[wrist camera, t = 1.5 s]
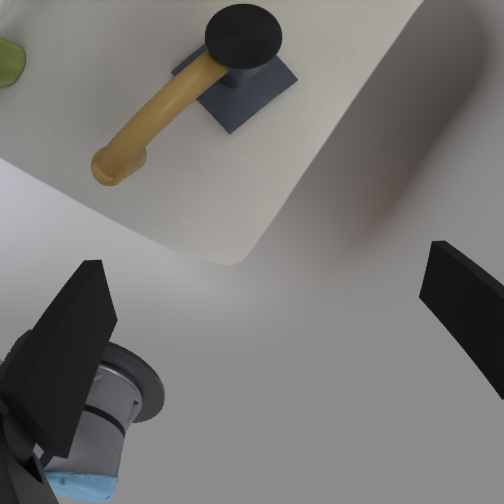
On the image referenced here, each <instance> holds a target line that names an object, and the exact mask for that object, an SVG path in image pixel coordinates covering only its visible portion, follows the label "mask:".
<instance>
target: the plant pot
mask: <svg viewBox="0 0 504 504" xmlns="http://www.w3.org/2000/svg"><path fill="white" fill-rule="evenodd" d="M24 65H25V52H24V51H23V49H22V48H21V47H20V46H19V45H16V44H14V43H12V42H9V41H7V40H5V39H3V38H1V37H0V88H3V87H8V86H10V85H12V84H13V83H14V82H15V81H16V80H17V78H18V77H19V76H20V74H21V73H22V71H23V69H24Z"/></svg>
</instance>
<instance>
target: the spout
mask: <svg viewBox="0 0 504 504" xmlns="http://www.w3.org/2000/svg"><path fill="white" fill-rule="evenodd" d="M205 42H206V46H207V50H206V51H205V52H204V53H203V54H201V55H200V56H199V57H198V58H196V59H195V60H194V61H193V62H192V63H190V64H189V65H188V66H187V67H186V68H185V69H183V70H182V71H181V72H180V73H179V74H178V75H176V76H175V77H174V78H173V79H172V80H171V81H170V82H169V83H168V84H166V85H165V86H164V87H163V88H162V89H161V90H160V91H159V92H158V93H157V94H156V95H155V96H154V97H153V98H152V99H151V100H150V101H148V102H147V103H146V104H145V105H144V106H143V107H142V108H141V109H140V110H139V111H138V112H137V113H136V114H135V115H134V117H133V118H132V119H131V120H130V121H129V122H128V123H127V124H126V125H125V126H124V127H123V128H122V129H121V130H120V131H119V132H118V133H117V135H116V136H115V137H114V138H113V139H112V140H111V141H110V142H109V143H108V145H107V146H106V147H103V148H101V149H100V150H98V151H97V152H96V153H95V155H94V156H93V159H92V162H91V171H92V174H93V176H94V178H95V179H96V180H97V181H98V182H99V183H100V184H102V185H105V186H113V185H116V184H118V183H120V182H121V181H122V180H124V179H125V178H127V177H128V176H130V175H131V174H133V173H134V172H135V171H137V170H138V169H140V168H141V167H142V166H143V165H144V163H145V161H146V150H145V146H146V145H147V144H148V143H149V142H150V141H151V140H152V139H153V138H154V137H155V136H156V135H157V134H158V133H159V132H160V131H161V130H162V129H163V128H164V127H165V126H166V125H168V124H169V123H170V122H171V121H172V120H173V119H174V118H175V117H176V116H177V115H178V114H179V113H180V112H181V111H183V110H184V109H185V108H186V107H187V106H188V105H189V104H190V103H191V102H193V101H194V100H195V99H196V98H197V97H198V96H199V95H201V94H202V93H203V92H204V91H205V90H206V89H208V88H209V87H210V86H211V85H212V84H214V83H215V82H216V81H217V80H218V79H220V78H221V77H222V76H223V75H225V74H226V75H228V76H231V77H237V78H244V77H250V76H253V75H255V74H257V73H259V72H261V71H262V70H263V69H264V68H265V67H266V66H267V65H268V64H269V63H270V61H271V60H272V59H273V58H274V57H275V56H276V54H277V53H278V51H279V49H280V47H281V43H282V31H281V27H280V25H279V23H278V21H277V20H276V18H275V17H274V16H273V15H272V14H271V13H270V12H268V11H267V10H265V9H263V8H261V7H259V6H256V5H252V4H235V5H231V6H228V7H226V8H223V9H222V10H220V11H219V12H217V13H216V14H215V15H214V16H213V17H212V18H211V20H210V21H209V23H208V25H207V27H206V31H205Z"/></svg>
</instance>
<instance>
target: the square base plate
mask: <svg viewBox="0 0 504 504" xmlns="http://www.w3.org/2000/svg"><path fill="white" fill-rule="evenodd" d="M206 50H207V46H206V43H205V44H204V45H203V46H202V47H200V48H199V49H198V50H197V51H195V52H194V53H193V54H192V55H191V56H189V57H188V58H187V59H186V60H185V61H183V62H182V63H181V64H180V65H179V66H178V67H176V68H175V69H174V70H173V71H172V72H171V73H172V74H173V75H174V76H176V75H178V74H179V73H180V72H181V71H182V70H183V69H185V68H186V67H187V66H188V65H189V64H190V63H192V62H193V61H194V60H195V59H196V58H198V57H199V56H200V55H201V54H203V53H204V52H205V51H206ZM296 81H298V79H297V78H296V77H295V76H294V74H293V73H292V72H291V71H290V70H289V69H288V67H287V66H286V65H285V64H284V63H283V62H282V61H281V60H280V58H279V57H278V56H277V55H276V56H275V57H274V58H273V59H272V60H271V61H270V63H269V64H268V65H267V66H266V67H265V68H264V69H263V70H262V71H261V72H259V73H257V74H255V75H253V76H250V77H244V78H237V77H231V76H228V75H226V74H225V75H223V76H222V77H221V78H220V79H218V80H217V81H216V82H215V83H214V84H212V85H211V86H210V87H209V88H208V89H206V90H205V91H204V92H203V93H202V94H201V95H199V96H198V97H197V99H198V100H199V101H200V102H201V103H202V104H203V105H204V107H205V108H206V109H207V110H208V111H209V112H210V113H211V114H212V115H213V116H214V117H215V118H216V119H217V120H218V121H219V123H220V124H221V125H222V126H223V127H224V128H225V129H226V130H227V131H228V132H229V133H230V134H231V133H232V132H233V131H234V130H236V129H237V128H238V127H239V126H240V125H242V124H243V123H244V122H245V121H246V120H248V119H249V118H250V117H251V116H253V115H254V114H255V113H256V112H257V111H259V110H260V109H261V108H262V107H264V106H265V105H266V104H268V103H269V102H270V101H271V100H273V99H274V98H275V97H276V96H278V95H279V94H280V93H282V92H283V91H284V90H286V89H287V88H288V87H290V86H291V85H292V84H294V83H295V82H296Z"/></svg>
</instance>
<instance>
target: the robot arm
mask: <svg viewBox="0 0 504 504" xmlns="http://www.w3.org/2000/svg"><path fill="white" fill-rule="evenodd" d="M419 298H420V299H421V300H422V301H423V302H424V303H425V305H426V306H427V307H428V308H429V309H430V310H431V311H432V312H433V314H434V315H435V316H436V317H437V318H438V319H439V321H440V322H441V323H442V324H443V325H444V326H445V327H446V329H447V330H448V331H449V332H450V333H451V335H452V336H453V337H454V338H455V339H456V341H457V342H458V343H459V344H460V345H461V346H462V348H463V349H464V350H465V352H466V353H467V354H468V355H469V357H470V358H471V359H472V360H473V362H474V363H475V364H476V365H477V367H478V368H479V369H480V371H481V372H482V373H483V374H484V376H485V377H486V378H487V380H488V381H489V382H490V384H491V385H492V386H493V388H494V389H495V391H496V392H497V393H498V394H499V396H500V397H501V399H502V400H503V399H504V286H503V285H502V284H501V283H500V282H499V281H497V280H496V279H495V278H493V277H492V276H491V275H490V274H489V273H487V272H486V271H485V270H484V269H482V268H481V267H480V266H478V265H477V264H476V263H475V262H473V261H472V260H471V259H469V258H468V257H467V256H465V255H464V254H462V253H461V252H460V251H459V250H457V249H456V248H454V247H453V246H452V245H450V244H449V243H447V242H446V241H432V244H431V248H430V253H429V258H428V263H427V267H426V271H425V275H424V279H423V284H422V287H421V291H420V295H419ZM116 323H117V317H116V313H115V310H114V306H113V303H112V299H111V295H110V292H109V288H108V285H107V280H106V276H105V273H104V268H103V264H102V260H86V261H83V262H82V264H81V265H80V266H79V267H78V269H77V270H76V271H75V272H74V274H73V275H72V276H71V278H70V279H69V280H68V281H67V283H66V284H65V285H64V287H63V288H62V289H61V290H60V292H59V293H58V294H57V296H56V297H55V298H54V300H53V301H52V302H51V304H50V305H49V307H48V308H47V309H46V311H45V312H44V314H43V315H42V316H41V318H40V319H39V321H38V322H37V324H36V325H35V326H34V328H33V329H32V330H28V331H27V332H25V333H24V334H23V335H22V336H21V337H19V338H18V339H17V341H16V342H15V344H14V345H13V347H12V348H11V350H10V351H11V352H9V353H8V354H7V356H6V358H5V361H2V360H0V504H59V503H58V501H57V499H56V497H55V495H54V493H56V494H59V495H62V496H64V497H68V498H71V499H74V500H79V501H83V502H90V503H104V502H107V501H109V500H110V499H112V497H113V494H114V491H115V487H116V483H117V482H118V478H117V477H118V471H119V465H120V460H121V453H122V449H123V443H124V438H125V433H126V430H127V429H128V428H129V426H130V425H131V423H132V422H133V421H134V419H135V418H136V416H137V415H138V413H139V412H140V410H141V408H142V403H143V392H142V390H141V388H140V386H139V384H138V383H137V382H136V381H135V380H134V379H133V378H132V377H131V376H130V375H129V374H128V373H126V372H125V371H123V370H122V369H120V368H119V367H117V366H115V365H112V364H110V363H107V362H105V361H101V359H102V357H103V354H104V352H105V349H106V347H107V344H108V342H109V339H110V337H111V334H112V332H113V330H114V327H115V325H116ZM53 492H54V493H53Z"/></svg>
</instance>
